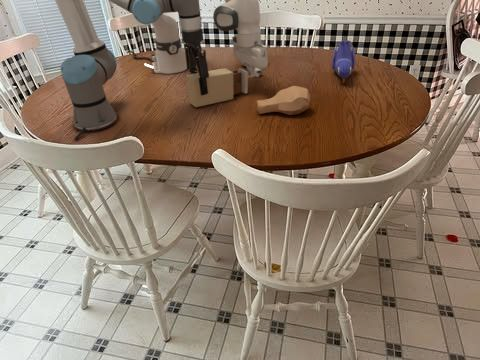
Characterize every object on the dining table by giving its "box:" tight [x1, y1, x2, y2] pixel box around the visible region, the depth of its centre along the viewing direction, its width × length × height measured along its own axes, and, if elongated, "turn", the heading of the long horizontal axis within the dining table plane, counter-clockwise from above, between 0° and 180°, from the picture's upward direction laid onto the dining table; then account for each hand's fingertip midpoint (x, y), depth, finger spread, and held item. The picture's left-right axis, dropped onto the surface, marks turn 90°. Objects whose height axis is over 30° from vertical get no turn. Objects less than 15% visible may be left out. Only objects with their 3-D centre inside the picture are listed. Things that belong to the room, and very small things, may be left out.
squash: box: [255, 85, 312, 116], centre depth 130 cm, size 11×20×9 cm, turn 92°
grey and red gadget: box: [239, 61, 263, 76], centre depth 171 cm, size 18×5×20 cm
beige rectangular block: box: [186, 67, 234, 108], centre depth 140 cm, size 17×7×11 cm, turn 121°
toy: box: [331, 39, 356, 84], centre depth 153 cm, size 10×17×25 cm
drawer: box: [230, 67, 260, 96], centre depth 145 cm, size 22×5×9 cm, turn 121°
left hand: (200, 91), depth 139 cm, fingers closed on beige rectangular block, 7 cm apart
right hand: (251, 74), depth 146 cm, fingers closed, pressing on drawer
